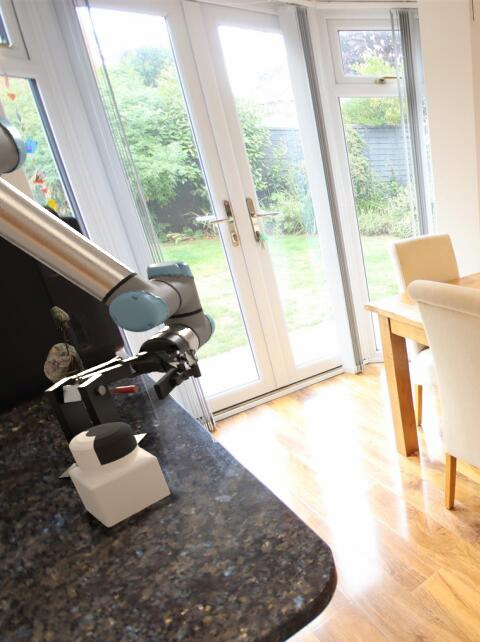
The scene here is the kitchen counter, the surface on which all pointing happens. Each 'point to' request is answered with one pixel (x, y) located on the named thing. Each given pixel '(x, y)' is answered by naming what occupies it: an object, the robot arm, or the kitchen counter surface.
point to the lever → (74, 396)
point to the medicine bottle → (115, 473)
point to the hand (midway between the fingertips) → (110, 398)
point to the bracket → (75, 414)
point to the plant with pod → (62, 353)
